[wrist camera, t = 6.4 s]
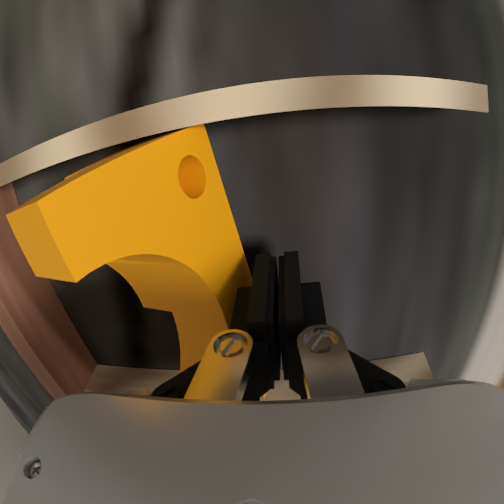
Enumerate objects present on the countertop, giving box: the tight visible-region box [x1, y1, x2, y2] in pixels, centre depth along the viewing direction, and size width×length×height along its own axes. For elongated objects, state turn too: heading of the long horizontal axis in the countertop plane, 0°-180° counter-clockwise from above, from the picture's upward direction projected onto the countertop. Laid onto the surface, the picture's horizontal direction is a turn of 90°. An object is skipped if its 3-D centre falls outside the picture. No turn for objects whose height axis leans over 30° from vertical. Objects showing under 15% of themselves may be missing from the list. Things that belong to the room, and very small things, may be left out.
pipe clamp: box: [6, 124, 267, 400], centre depth 11 cm, size 12×4×6 cm, turn 15°
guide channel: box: [0, 75, 488, 401], centre depth 13 cm, size 24×16×4 cm, turn 99°
